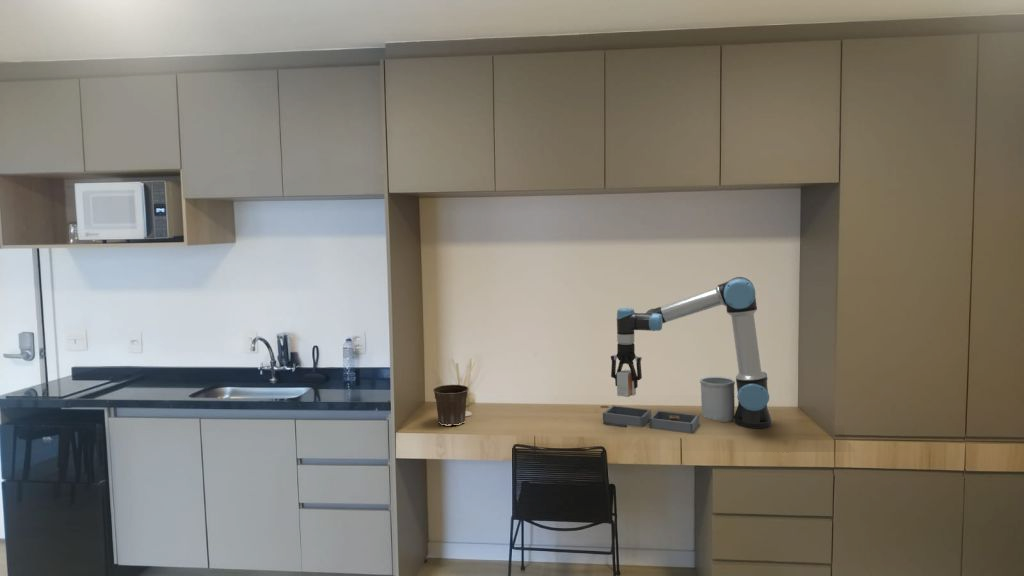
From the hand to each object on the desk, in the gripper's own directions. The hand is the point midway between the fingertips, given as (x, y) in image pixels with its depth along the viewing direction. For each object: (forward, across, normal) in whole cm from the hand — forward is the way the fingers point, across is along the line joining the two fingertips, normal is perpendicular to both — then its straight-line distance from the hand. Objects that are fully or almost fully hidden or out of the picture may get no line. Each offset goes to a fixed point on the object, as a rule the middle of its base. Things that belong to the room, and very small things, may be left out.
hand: (626, 394), depth 261 cm
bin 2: (+13, -21, 0) cm, 25 cm away
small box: (0, 0, 0) cm, 0 cm away
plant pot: (+13, +73, +32) cm, 81 cm away
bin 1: (+13, 0, 0) cm, 13 cm away
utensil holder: (+13, -35, -22) cm, 43 cm away
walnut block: (+12, -21, 0) cm, 24 cm away
